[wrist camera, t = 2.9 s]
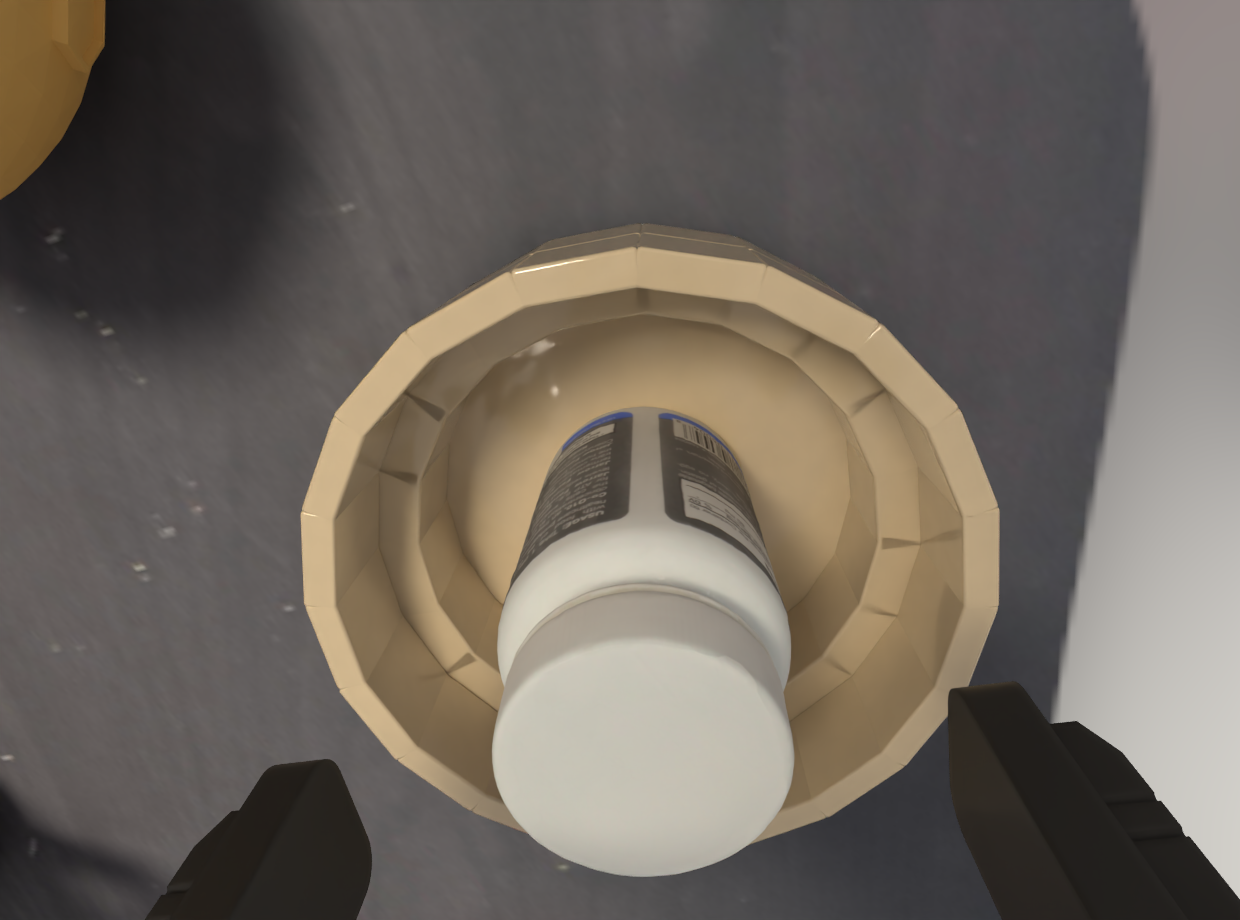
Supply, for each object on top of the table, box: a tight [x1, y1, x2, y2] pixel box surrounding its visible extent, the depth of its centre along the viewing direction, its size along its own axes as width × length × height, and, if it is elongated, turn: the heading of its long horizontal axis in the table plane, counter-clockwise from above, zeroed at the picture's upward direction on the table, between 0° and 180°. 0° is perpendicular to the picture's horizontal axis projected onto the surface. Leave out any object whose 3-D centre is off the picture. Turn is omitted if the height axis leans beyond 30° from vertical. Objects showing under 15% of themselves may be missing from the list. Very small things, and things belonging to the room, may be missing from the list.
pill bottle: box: [492, 406, 794, 877], centre depth 13 cm, size 5×5×8 cm
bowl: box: [301, 223, 1000, 845], centre depth 15 cm, size 12×12×5 cm
